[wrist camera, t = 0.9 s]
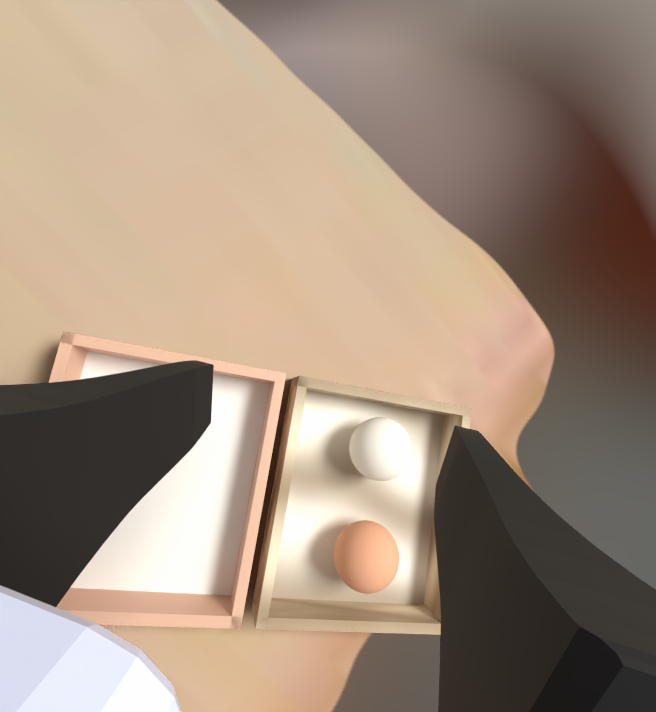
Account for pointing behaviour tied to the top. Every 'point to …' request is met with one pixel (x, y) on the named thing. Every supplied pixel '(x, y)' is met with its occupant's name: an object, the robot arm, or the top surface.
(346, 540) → the terracotta ball
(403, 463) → the cream ball
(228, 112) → the top surface
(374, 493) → the box
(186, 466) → the peach open box
